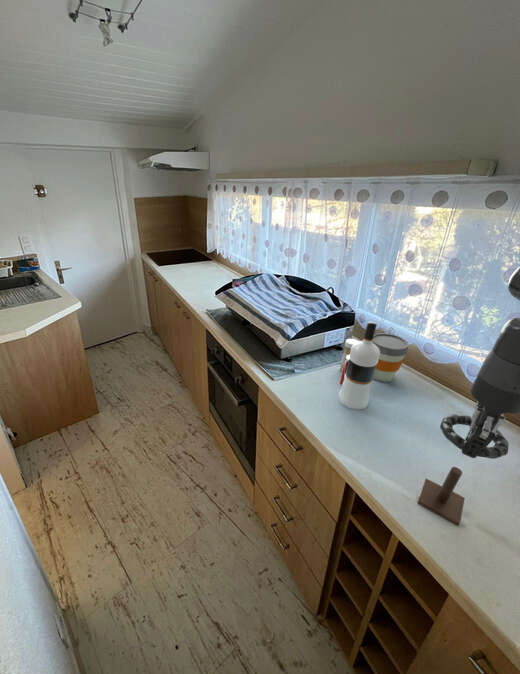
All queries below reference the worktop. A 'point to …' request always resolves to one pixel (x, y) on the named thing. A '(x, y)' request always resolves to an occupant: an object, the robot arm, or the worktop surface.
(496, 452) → the ring
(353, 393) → the vodka
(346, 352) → the sprinkles bottle
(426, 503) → the post
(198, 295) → the worktop surface
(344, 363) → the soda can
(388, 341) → the reusable coffee cup
